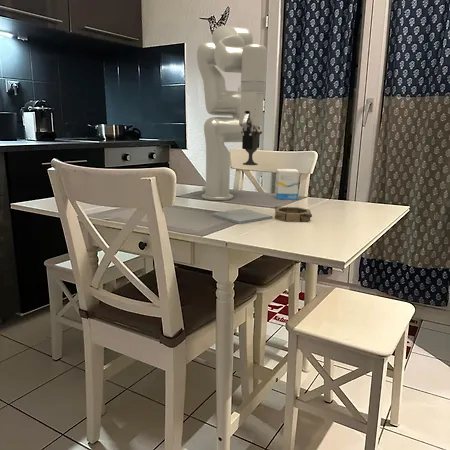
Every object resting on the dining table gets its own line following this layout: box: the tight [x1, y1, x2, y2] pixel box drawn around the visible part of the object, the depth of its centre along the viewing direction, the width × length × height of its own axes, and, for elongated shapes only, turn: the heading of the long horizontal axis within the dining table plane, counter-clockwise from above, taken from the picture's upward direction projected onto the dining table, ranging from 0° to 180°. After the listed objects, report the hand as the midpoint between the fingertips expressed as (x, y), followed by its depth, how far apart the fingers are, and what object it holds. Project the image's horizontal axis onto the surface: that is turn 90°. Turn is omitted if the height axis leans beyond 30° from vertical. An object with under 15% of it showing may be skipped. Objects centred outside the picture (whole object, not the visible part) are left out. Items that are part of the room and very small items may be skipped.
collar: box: [274, 206, 313, 223], centre depth 141 cm, size 15×11×2 cm
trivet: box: [211, 208, 274, 225], centre depth 141 cm, size 14×14×1 cm
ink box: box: [274, 168, 300, 201], centre depth 177 cm, size 9×8×12 cm
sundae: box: [241, 124, 263, 166], centre depth 135 cm, size 7×7×15 cm
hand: (250, 147), depth 136 cm, fingers closed on sundae, 6 cm apart
